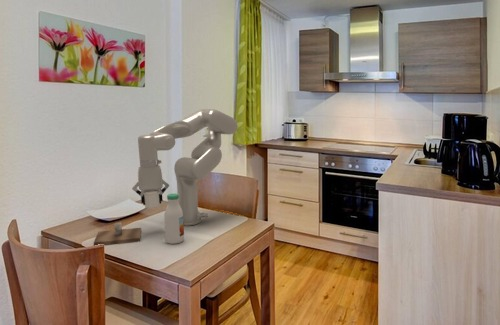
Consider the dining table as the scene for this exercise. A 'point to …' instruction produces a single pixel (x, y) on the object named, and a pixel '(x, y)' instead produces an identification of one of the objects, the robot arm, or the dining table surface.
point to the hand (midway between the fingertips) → (152, 203)
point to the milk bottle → (173, 220)
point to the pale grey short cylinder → (151, 198)
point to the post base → (121, 239)
